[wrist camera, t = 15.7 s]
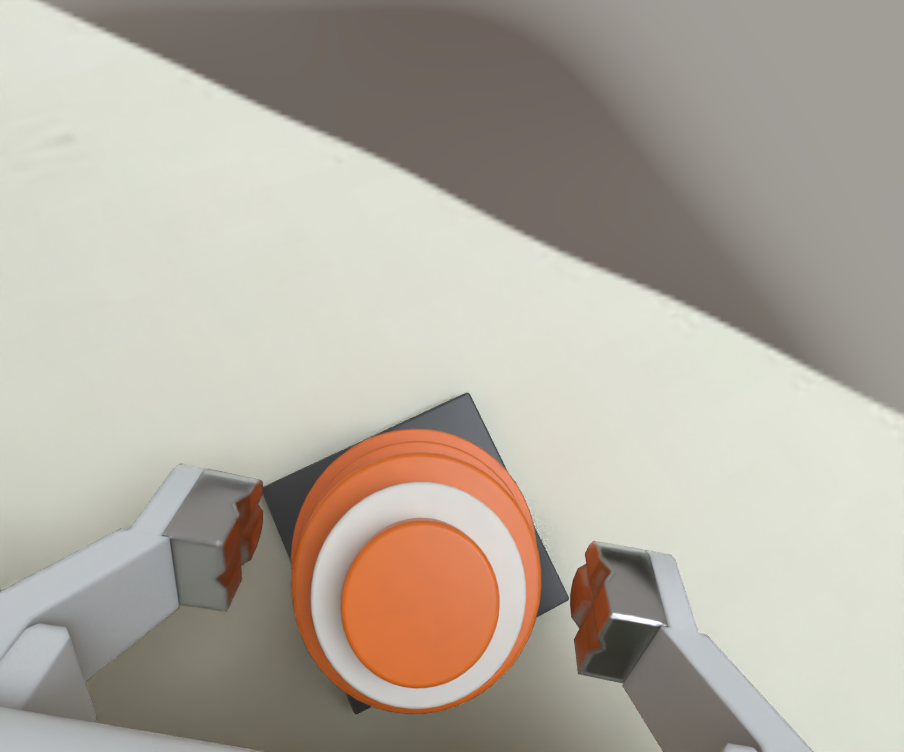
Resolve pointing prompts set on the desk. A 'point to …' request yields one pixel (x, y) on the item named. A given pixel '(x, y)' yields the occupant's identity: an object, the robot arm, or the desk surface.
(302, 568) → the cone
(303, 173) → the desk surface
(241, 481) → the robot arm
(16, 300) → the desk surface
